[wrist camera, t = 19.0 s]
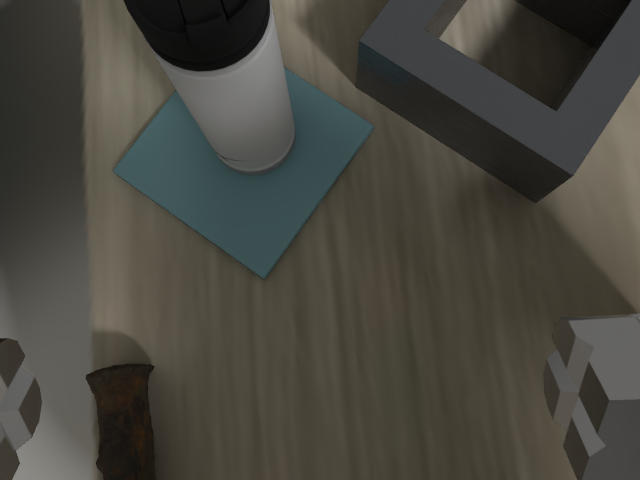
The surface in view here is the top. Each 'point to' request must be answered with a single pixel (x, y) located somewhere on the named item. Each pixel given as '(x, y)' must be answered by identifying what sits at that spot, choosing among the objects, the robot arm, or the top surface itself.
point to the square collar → (502, 87)
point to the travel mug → (225, 75)
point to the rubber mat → (245, 190)
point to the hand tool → (124, 422)
